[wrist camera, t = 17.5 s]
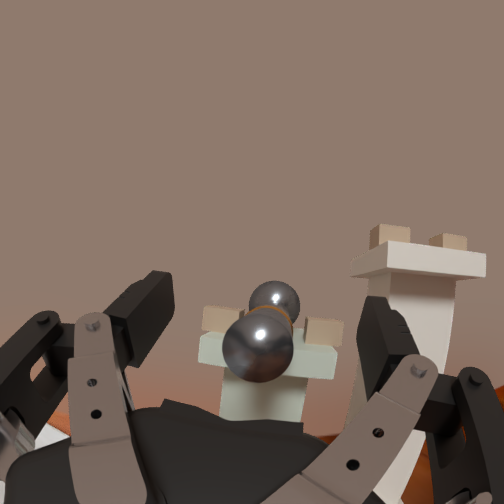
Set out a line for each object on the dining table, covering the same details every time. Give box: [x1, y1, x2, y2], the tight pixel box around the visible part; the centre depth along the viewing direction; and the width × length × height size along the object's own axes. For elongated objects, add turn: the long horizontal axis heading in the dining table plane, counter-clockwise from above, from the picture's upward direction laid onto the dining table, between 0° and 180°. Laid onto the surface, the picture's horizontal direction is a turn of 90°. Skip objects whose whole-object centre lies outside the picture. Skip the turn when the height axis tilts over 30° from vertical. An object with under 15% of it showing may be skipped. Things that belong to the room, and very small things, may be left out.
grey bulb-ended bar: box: [222, 281, 300, 383], centre depth 22 cm, size 20×5×5 cm, turn 173°
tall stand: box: [344, 224, 486, 504], centre depth 24 cm, size 10×13×32 cm
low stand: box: [198, 305, 344, 422], centre depth 25 cm, size 12×13×24 cm
